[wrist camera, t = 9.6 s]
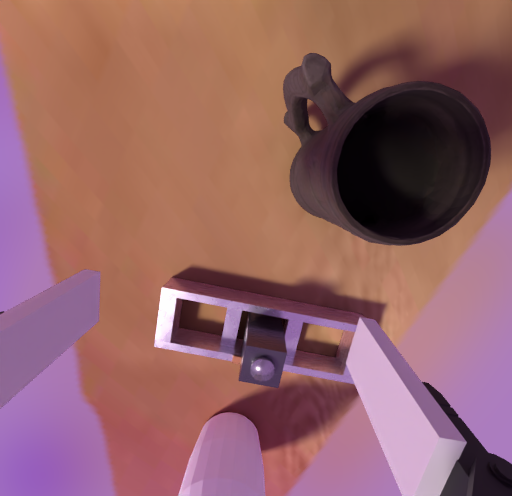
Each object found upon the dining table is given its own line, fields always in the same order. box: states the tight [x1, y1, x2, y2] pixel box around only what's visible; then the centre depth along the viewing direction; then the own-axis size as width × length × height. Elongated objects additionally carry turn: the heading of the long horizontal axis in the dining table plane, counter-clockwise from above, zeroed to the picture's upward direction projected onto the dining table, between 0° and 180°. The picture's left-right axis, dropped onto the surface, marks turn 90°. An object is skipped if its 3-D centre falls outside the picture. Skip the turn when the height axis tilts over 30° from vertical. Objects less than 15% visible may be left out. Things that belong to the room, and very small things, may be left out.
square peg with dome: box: [239, 312, 287, 388], centre depth 35 cm, size 4×4×11 cm
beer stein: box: [283, 53, 491, 246], centre depth 26 cm, size 15×11×20 cm
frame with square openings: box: [154, 277, 365, 384], centre depth 38 cm, size 8×28×4 cm, turn 79°
